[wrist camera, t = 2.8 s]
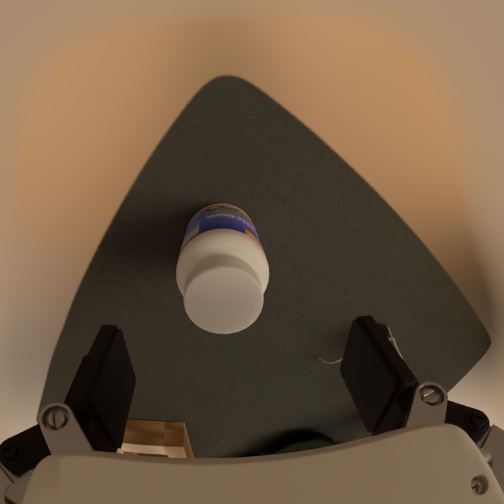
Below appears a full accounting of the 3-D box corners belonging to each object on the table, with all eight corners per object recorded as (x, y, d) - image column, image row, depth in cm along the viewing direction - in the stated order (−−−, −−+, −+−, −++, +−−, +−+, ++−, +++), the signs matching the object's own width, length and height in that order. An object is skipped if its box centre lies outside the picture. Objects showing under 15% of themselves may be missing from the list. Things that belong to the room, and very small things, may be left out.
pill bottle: (266, 220, 23) (300, 279, 14) (235, 276, 25) (248, 356, 16) (204, 189, 22) (197, 232, 13) (175, 250, 23) (155, 323, 14)
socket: (127, 453, 35) (124, 473, 31) (104, 416, 31) (99, 439, 27) (194, 457, 36) (195, 478, 33) (184, 421, 32) (183, 447, 28)
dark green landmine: (305, 419, 35) (314, 446, 31) (359, 445, 41) (367, 464, 37) (214, 465, 38) (215, 488, 34) (281, 484, 45) (285, 502, 40)
